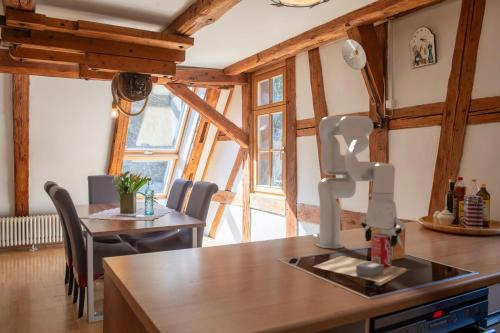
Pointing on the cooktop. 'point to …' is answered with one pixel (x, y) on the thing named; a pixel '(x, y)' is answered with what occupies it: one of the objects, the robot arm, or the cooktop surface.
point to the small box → (399, 248)
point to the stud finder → (369, 269)
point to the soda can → (381, 250)
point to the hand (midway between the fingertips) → (380, 243)
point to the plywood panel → (349, 268)
